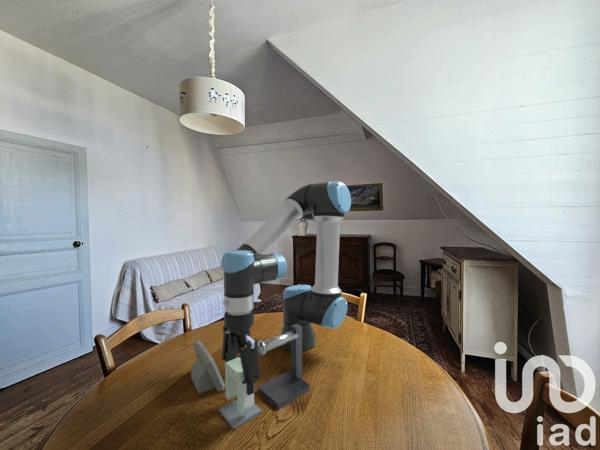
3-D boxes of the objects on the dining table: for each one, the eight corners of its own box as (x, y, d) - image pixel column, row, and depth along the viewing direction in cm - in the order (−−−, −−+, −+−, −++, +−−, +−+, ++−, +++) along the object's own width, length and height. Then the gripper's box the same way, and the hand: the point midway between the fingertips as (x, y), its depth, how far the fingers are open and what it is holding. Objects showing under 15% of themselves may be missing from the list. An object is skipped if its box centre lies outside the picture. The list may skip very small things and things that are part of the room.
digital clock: (226, 393, 77) (225, 357, 77) (192, 402, 73) (192, 364, 73) (218, 365, 92) (218, 335, 92) (190, 371, 88) (190, 340, 88)
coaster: (219, 411, 70) (219, 408, 70) (245, 397, 75) (245, 394, 75) (233, 429, 64) (233, 426, 64) (261, 413, 69) (261, 410, 69)
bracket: (225, 397, 71) (225, 362, 71) (238, 390, 74) (238, 356, 73) (240, 413, 65) (240, 375, 65) (254, 405, 68) (254, 369, 67)
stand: (250, 394, 76) (250, 333, 76) (289, 374, 86) (289, 320, 86) (271, 413, 69) (270, 345, 68) (310, 389, 79) (310, 329, 78)
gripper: (208, 304, 74) (209, 383, 75) (247, 326, 59) (247, 427, 59) (232, 298, 79) (233, 373, 80) (274, 317, 64) (274, 410, 64)
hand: (239, 396), depth 69 cm, fingers closed on bracket, 8 cm apart
